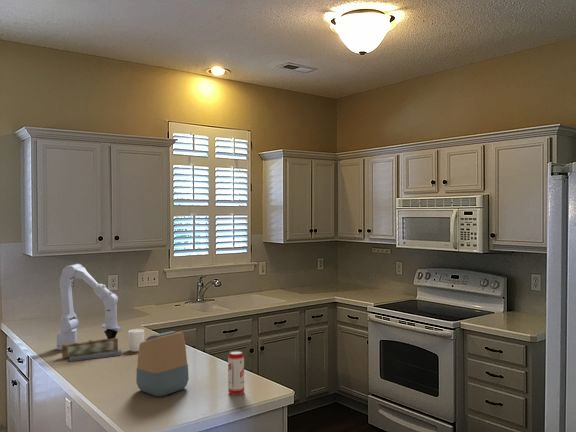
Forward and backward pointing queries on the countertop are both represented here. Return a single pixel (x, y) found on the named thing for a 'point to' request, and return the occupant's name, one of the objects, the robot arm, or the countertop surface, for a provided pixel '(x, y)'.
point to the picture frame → (89, 347)
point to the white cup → (135, 339)
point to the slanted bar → (95, 355)
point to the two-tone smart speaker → (162, 364)
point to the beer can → (236, 373)
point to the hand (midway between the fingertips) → (111, 343)
